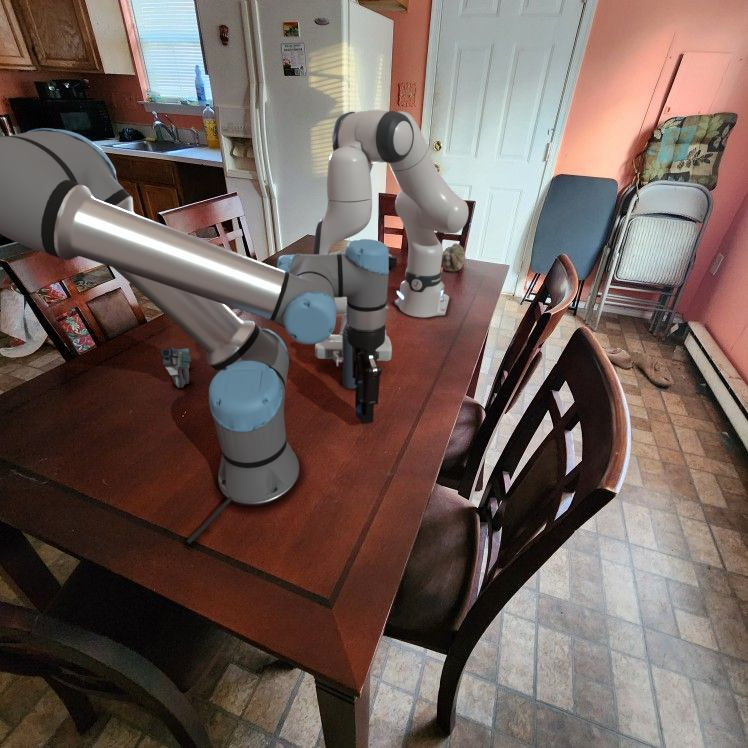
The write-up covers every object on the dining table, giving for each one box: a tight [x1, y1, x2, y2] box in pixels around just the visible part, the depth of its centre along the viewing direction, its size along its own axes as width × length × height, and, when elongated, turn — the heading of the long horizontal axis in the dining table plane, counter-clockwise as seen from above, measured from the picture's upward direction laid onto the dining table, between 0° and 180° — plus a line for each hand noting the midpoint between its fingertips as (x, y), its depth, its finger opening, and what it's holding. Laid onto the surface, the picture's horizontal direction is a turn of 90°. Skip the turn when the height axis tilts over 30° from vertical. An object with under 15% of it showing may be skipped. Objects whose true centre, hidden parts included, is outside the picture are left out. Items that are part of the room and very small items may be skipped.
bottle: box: [341, 322, 357, 390], centre depth 102 cm, size 5×5×20 cm
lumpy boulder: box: [441, 243, 466, 273], centre depth 178 cm, size 11×11×15 cm
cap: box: [355, 404, 361, 421], centre depth 92 cm, size 4×4×2 cm
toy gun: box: [160, 347, 192, 389], centre depth 101 cm, size 4×19×10 cm
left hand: (364, 415), depth 93 cm, fingers closed on cap, 4 cm apart
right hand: (352, 364), depth 103 cm, fingers closed on bottle, 5 cm apart
